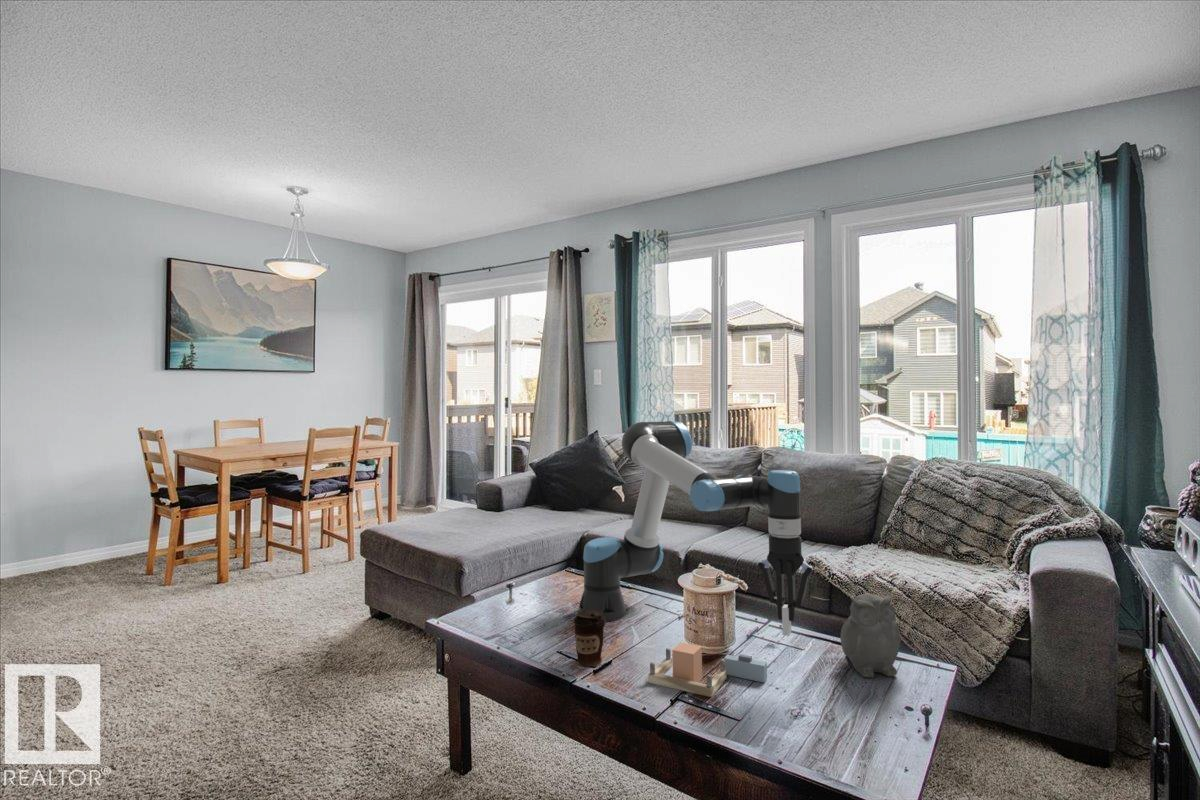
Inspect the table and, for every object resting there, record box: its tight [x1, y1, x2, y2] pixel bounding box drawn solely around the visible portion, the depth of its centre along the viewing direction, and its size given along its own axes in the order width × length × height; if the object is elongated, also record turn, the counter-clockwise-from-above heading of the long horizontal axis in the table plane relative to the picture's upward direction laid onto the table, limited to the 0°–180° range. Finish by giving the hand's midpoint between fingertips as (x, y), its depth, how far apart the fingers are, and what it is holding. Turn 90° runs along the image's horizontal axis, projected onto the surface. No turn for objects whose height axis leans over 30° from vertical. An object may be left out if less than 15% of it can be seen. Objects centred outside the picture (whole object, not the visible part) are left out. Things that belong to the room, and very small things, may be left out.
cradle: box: [647, 648, 728, 698], centre depth 149 cm, size 12×16×4 cm
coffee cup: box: [573, 610, 606, 667], centre depth 160 cm, size 9×8×13 cm
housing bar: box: [723, 654, 768, 683], centre depth 151 cm, size 2×10×5 cm, turn 61°
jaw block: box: [671, 641, 703, 683], centre depth 149 cm, size 6×6×8 cm
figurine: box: [839, 592, 902, 678], centre depth 156 cm, size 14×16×20 cm
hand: (786, 633), depth 146 cm, fingers closed
